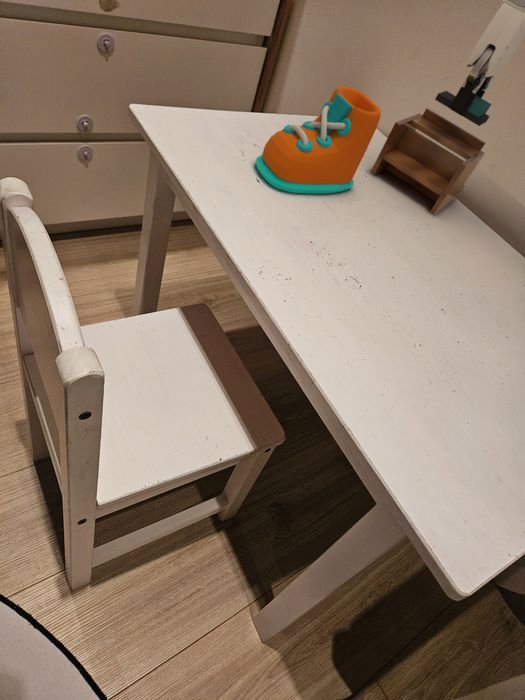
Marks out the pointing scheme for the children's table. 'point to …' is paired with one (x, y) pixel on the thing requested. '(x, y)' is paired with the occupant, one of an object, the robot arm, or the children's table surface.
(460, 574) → the children's table surface
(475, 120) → the teal two-tone block
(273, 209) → the children's table surface
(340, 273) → the children's table surface
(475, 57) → the robot arm
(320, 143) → the toy shoe
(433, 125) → the shoe rack
